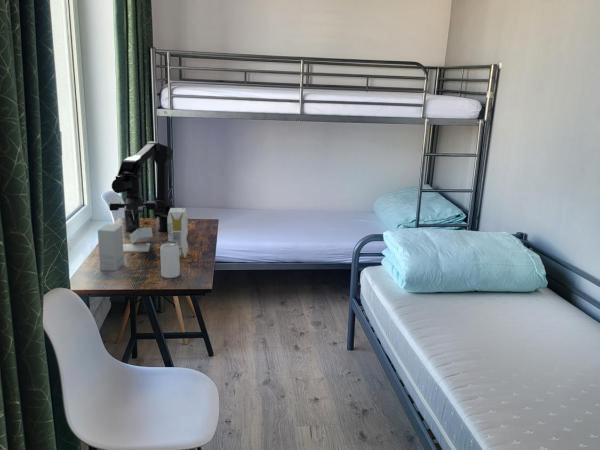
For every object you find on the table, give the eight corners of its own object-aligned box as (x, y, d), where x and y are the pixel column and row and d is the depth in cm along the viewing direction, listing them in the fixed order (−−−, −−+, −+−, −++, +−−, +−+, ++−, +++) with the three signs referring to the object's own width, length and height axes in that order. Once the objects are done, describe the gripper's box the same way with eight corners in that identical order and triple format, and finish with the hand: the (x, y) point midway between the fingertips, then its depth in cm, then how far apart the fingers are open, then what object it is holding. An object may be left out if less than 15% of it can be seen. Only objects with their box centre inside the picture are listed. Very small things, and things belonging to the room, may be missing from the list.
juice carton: (168, 259, 199) (166, 212, 194) (170, 252, 207) (168, 207, 202) (187, 258, 200) (186, 212, 195) (189, 252, 208) (187, 207, 204)
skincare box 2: (130, 244, 216) (138, 238, 206) (129, 235, 216) (136, 228, 207) (144, 243, 219) (153, 236, 210) (143, 233, 220) (151, 226, 210)
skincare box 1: (108, 263, 192) (105, 223, 188) (125, 264, 192) (123, 224, 188) (99, 270, 184) (96, 229, 180) (117, 271, 184) (114, 230, 180)
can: (162, 279, 177) (161, 246, 174) (160, 273, 183) (158, 241, 180) (181, 277, 180) (180, 245, 177) (178, 271, 186) (177, 240, 183)
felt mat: (120, 245, 214) (120, 244, 214) (150, 244, 217) (149, 243, 217) (118, 252, 205) (118, 251, 205) (148, 251, 208) (148, 250, 207)
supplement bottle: (127, 227, 242) (125, 203, 239) (141, 227, 243) (140, 203, 240) (123, 231, 236) (122, 206, 233) (138, 231, 236) (137, 206, 233)
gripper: (106, 193, 202) (108, 230, 206) (154, 192, 206) (156, 229, 210) (110, 188, 212) (112, 224, 216) (156, 187, 217) (157, 223, 220)
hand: (134, 225), depth 215 cm, fingers closed
